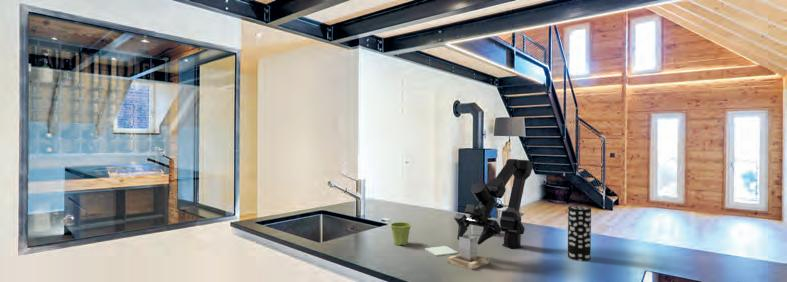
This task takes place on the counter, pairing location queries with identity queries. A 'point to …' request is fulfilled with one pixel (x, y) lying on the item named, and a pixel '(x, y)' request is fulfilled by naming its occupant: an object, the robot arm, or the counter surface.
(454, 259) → the oak socket frame
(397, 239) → the plant pot
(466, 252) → the steel cap block
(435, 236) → the counter surface
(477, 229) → the supplement box
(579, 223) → the white-spotted black cylinder
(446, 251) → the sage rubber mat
